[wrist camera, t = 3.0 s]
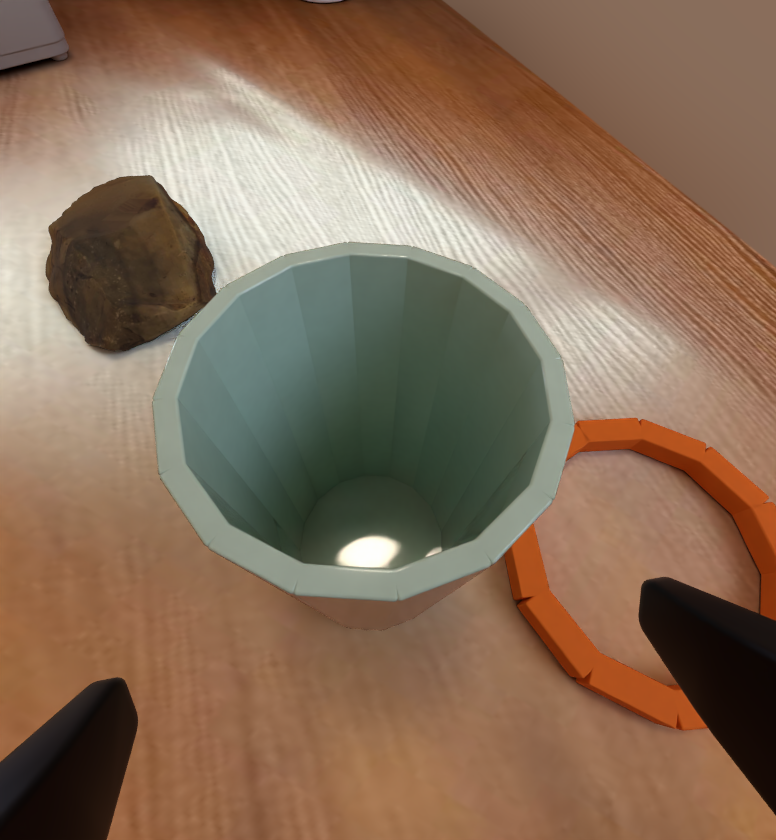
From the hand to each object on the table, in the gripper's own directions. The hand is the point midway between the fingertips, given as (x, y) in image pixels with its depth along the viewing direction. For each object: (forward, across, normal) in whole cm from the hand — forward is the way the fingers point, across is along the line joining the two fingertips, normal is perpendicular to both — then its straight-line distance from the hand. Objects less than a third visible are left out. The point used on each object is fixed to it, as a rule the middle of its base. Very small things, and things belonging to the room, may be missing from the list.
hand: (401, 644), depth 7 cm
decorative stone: (+23, +12, -8) cm, 27 cm away
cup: (+10, 0, +5) cm, 11 cm away
